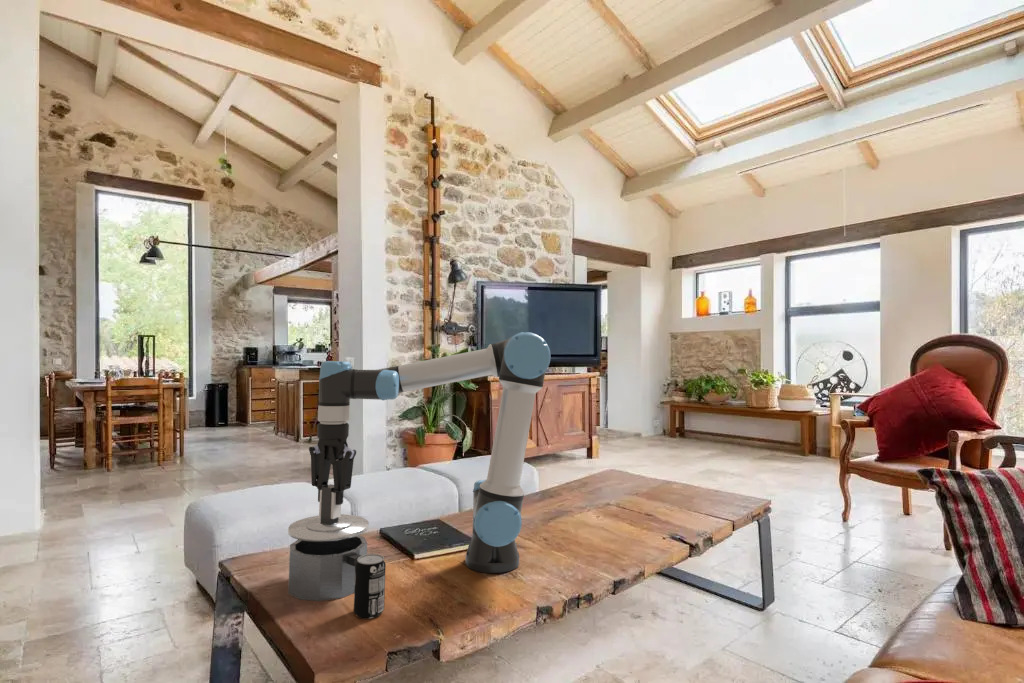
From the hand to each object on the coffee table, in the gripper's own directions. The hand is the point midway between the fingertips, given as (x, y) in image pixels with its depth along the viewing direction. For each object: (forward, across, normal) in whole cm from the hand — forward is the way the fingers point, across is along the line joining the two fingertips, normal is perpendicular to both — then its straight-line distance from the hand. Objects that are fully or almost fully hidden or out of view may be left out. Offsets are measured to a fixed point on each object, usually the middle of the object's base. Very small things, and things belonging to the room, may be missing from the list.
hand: (329, 516), depth 135 cm
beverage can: (+17, -19, +8) cm, 26 cm away
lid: (+3, 0, 0) cm, 3 cm away
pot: (+17, 0, 0) cm, 17 cm away
